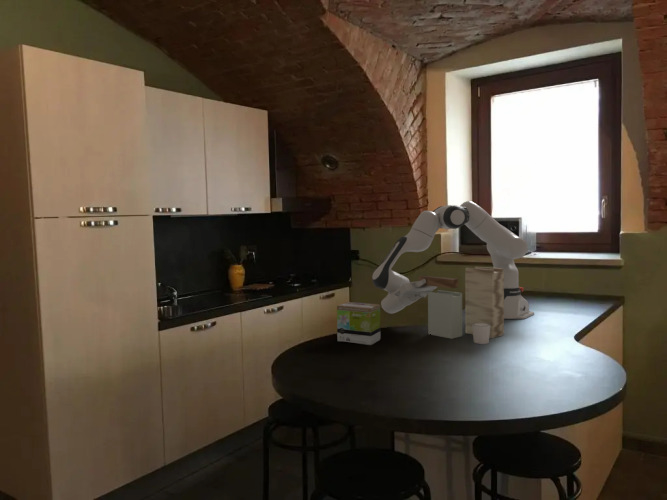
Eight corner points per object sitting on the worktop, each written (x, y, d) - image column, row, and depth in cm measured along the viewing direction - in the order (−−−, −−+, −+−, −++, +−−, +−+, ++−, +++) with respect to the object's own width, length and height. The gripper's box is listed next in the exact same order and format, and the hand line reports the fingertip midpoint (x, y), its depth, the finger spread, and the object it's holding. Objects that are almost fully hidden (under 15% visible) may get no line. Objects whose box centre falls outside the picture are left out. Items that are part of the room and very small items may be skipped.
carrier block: (439, 331, 228) (438, 290, 227) (462, 335, 219) (462, 292, 218) (428, 334, 224) (427, 291, 222) (451, 338, 214) (451, 294, 213)
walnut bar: (423, 283, 231) (423, 275, 230) (458, 287, 217) (458, 278, 217) (418, 284, 228) (418, 276, 228) (452, 288, 215) (452, 279, 214)
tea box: (336, 342, 213) (335, 305, 212) (347, 336, 222) (347, 301, 221) (371, 345, 206) (370, 307, 205) (381, 340, 215) (380, 303, 214)
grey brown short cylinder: (488, 340, 211) (488, 322, 210) (492, 344, 204) (492, 326, 204) (470, 340, 211) (470, 322, 211) (473, 344, 205) (473, 326, 204)
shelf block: (477, 330, 229) (476, 266, 228) (503, 334, 219) (503, 268, 218) (465, 332, 224) (465, 268, 222) (492, 337, 214) (492, 270, 212)
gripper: (389, 289, 230) (410, 275, 220) (421, 284, 243) (442, 271, 233) (394, 302, 228) (416, 289, 218) (426, 297, 241) (448, 284, 231)
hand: (429, 279), depth 226 cm, fingers closed on walnut bar, 3 cm apart
